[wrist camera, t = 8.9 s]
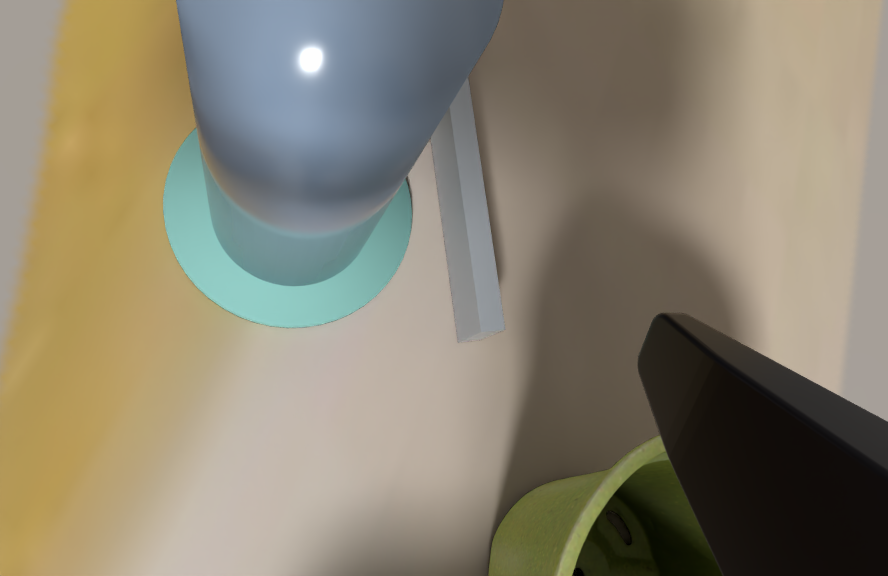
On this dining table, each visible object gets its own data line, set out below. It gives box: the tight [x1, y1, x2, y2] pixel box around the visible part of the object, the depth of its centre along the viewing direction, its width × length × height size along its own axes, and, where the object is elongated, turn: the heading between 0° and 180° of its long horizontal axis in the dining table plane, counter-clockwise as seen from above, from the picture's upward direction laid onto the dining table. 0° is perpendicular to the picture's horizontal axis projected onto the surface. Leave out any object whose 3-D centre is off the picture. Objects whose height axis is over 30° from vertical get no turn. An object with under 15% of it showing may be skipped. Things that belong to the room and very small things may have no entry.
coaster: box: [163, 128, 412, 328], centre depth 23 cm, size 8×8×1 cm
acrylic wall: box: [431, 77, 505, 343], centre depth 24 cm, size 12×1×2 cm, turn 8°
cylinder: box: [176, 0, 503, 286], centre depth 17 cm, size 5×5×13 cm
